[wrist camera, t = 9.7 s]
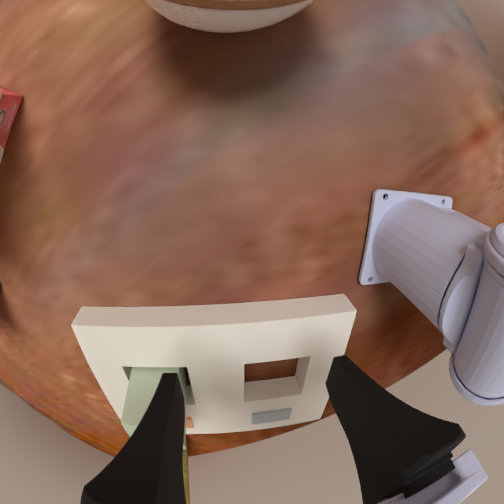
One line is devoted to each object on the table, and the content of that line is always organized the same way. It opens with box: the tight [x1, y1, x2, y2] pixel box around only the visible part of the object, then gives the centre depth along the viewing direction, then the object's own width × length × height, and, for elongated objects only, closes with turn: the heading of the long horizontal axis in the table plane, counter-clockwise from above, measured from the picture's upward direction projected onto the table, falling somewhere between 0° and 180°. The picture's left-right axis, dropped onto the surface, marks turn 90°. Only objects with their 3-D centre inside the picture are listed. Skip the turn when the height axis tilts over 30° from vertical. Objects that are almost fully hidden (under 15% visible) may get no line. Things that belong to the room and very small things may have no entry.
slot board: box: [71, 294, 357, 434], centre depth 22 cm, size 22×16×3 cm
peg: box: [121, 367, 186, 450], centre depth 19 cm, size 4×4×8 cm
